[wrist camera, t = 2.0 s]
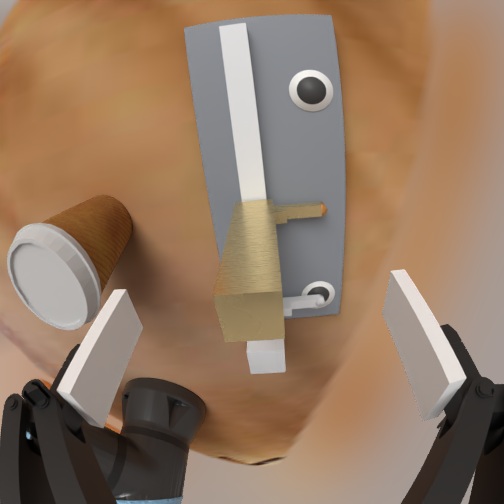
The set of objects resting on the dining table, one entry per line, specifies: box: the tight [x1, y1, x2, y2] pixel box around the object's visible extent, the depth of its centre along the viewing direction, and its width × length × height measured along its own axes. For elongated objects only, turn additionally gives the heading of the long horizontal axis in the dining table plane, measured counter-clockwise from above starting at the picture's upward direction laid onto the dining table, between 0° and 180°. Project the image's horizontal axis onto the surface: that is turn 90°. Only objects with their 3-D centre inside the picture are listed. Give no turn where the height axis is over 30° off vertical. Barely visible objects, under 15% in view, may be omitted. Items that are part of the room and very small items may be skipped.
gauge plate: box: [184, 14, 346, 374], centre depth 21 cm, size 30×12×10 cm, turn 6°
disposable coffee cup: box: [7, 195, 132, 330], centre depth 22 cm, size 10×10×12 cm
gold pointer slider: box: [213, 199, 327, 342], centre depth 19 cm, size 3×8×13 cm, turn 96°
